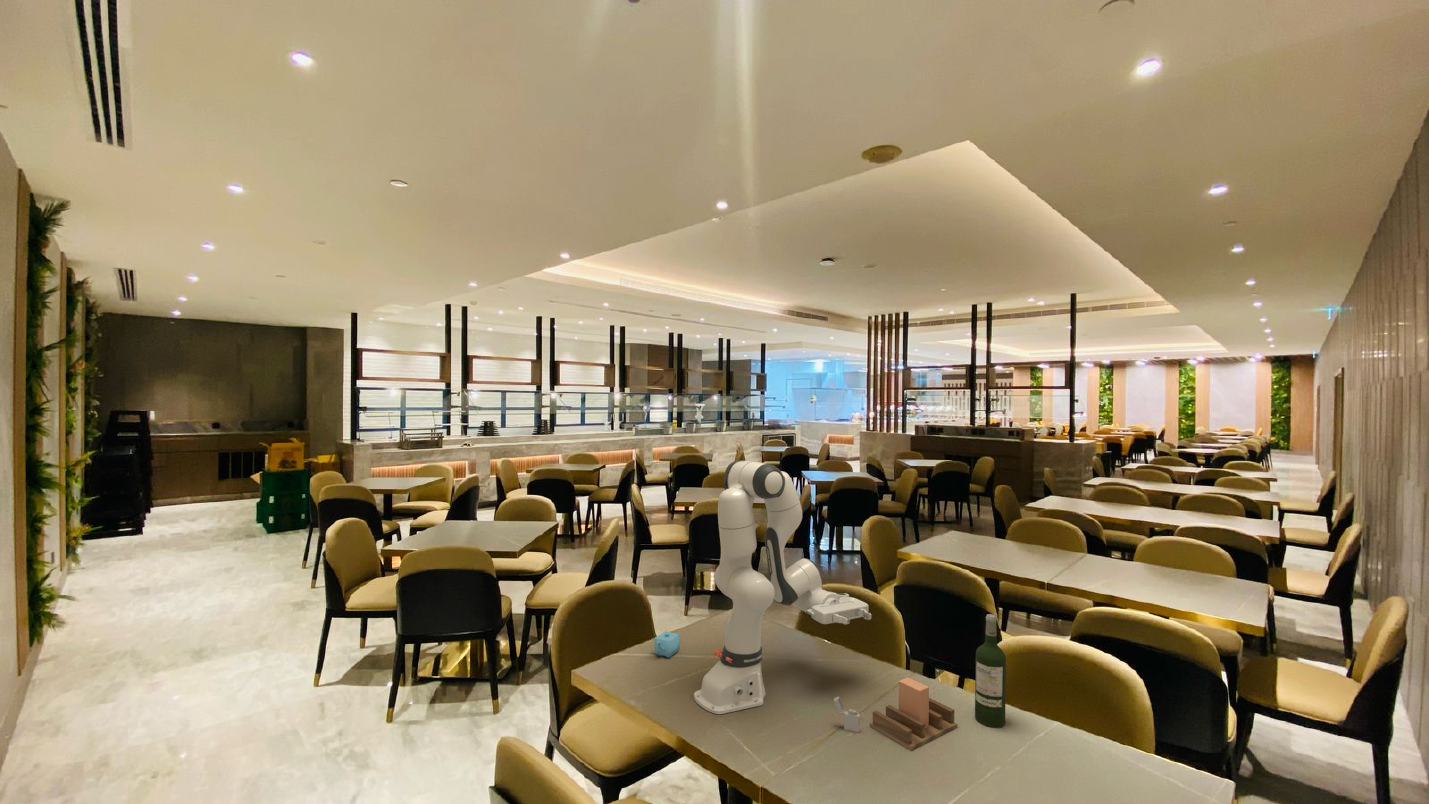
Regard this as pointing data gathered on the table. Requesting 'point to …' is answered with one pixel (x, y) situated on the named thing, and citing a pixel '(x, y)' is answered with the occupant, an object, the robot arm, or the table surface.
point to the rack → (914, 725)
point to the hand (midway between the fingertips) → (859, 619)
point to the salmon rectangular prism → (914, 700)
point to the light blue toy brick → (667, 644)
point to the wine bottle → (990, 679)
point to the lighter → (848, 716)
